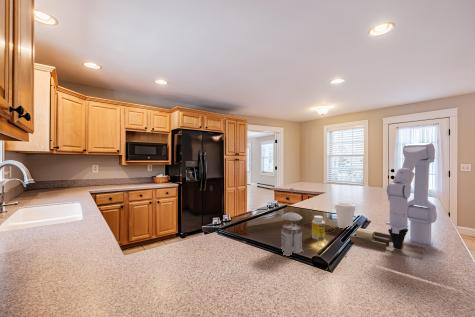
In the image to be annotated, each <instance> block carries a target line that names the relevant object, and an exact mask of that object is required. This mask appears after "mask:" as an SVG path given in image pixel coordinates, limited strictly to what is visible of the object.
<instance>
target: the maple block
mask: <svg viewBox="0 0 475 317" xmlns="http://www.w3.org/2000/svg"><path fill="white" fill-rule="evenodd" d="M355 232H356V237H360V238H364V239H369V240H373V241H375V239H380V240H384V241H389V242H393V241H392V240H388V239H383V238H379V237H375V232H376V231H375V230H371V229H365V228H361V227H359V228H357V229H356V231H355ZM404 242H405V239H404V240H403V243H402V248H401V250H403V248H404ZM393 248H394V246H393Z"/></svg>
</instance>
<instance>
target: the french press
mask: <svg viewBox="0 0 475 317" xmlns="http://www.w3.org/2000/svg"><path fill="white" fill-rule="evenodd" d="M289 192H295V189H294V188H292V187H291V188H289ZM280 218H281V219H283V220H285V221H291V223H290V224H284V225H282V229H281V231H280V232H281V239H280V240H281V246H280V248H281V249H282V252H283V251H284V252H283V255H282V256H284V255H286V256H285V257H287V256H290V255H292V251H294V253H300V252H301V251H303V246H302V245H303V243H302V242H303V236H302V235H303V231H302V227H301V226H299V225H297V223H295V224H293V221H294V222H296V221H301V220H302V219H303V216H301V214H298V213H295V212H293V211H291V212H286V213H284V214H281V216H280Z"/></svg>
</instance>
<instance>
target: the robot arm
mask: <svg viewBox="0 0 475 317" xmlns="http://www.w3.org/2000/svg"><path fill="white" fill-rule="evenodd" d="M434 145H435V144H434V143H432V142H427V143H425V142H423V143H406V144H404V146H402V147H403V148H402V155H403V156H404V159H403V163H402V167H401V168H399V169H398V170H397V171H396V173H395V175H394V178H393V180H392V182H389V183H388V184H387V186H386V194H387V200H388V201H389V221H386V222H385V225H387V226H390V228H388V234H390V235H391V238H392V241H393V246H394V248H395V249H399V250H401V248H402V243H403V240H404V241H405V239H406V238H405V237H406V235H407V233H408V232H410V233H409V234H410V235H409V237H408V241H411V242H415V243H419V244H420V243H421V244H425V245H430V246H433V242H434V240H433V238H432V224H434V223H435V222H436V220H437V218H438V217H437V216H438V215H437V207H436V205H435V204H433V203H432V202H431V201H429V200H428V197H429V196H428V195H429V174H430V173H429V172H430V164H431V163H432V164H433V163H434V162H435V158H436V148H435V146H434ZM413 171H414V172H413ZM413 179H414V184H413V185H414V186H413V187H414V188H413V199H410V200H409V201H408V199H409V198H410V197H411V194H412V182H413ZM408 221H409V222H410V226H409V225H408V224H409V222H408Z"/></svg>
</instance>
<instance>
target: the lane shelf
mask: <svg viewBox="0 0 475 317" xmlns="http://www.w3.org/2000/svg"><path fill="white" fill-rule="evenodd" d="M375 237H379V238H383V239H388V240H392V238H391V235H390V233H384V232H380V231H375ZM350 240H351V242H350V243H353V244H358V245H360V246H366V247H369V248H372V249H378V250H381V251H385V252H389V253H393V254H398V255H401V256H406V257H410V258H412V259H413V258H414V259H417V260H420V261H421V260H422V261H423V259H424V256H425V255H424V254H425V250H426V247H425V246H424V247H422V246H419V245H415V244H414V245H413V244H410V243H404V248H403V250H399V249H395V248H393V242H389V241H384V240H380V239H375V241H373V240H369V239H364V238H360V237H356V231H354V232H353V233H352V234H350V236H349V241H350Z"/></svg>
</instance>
